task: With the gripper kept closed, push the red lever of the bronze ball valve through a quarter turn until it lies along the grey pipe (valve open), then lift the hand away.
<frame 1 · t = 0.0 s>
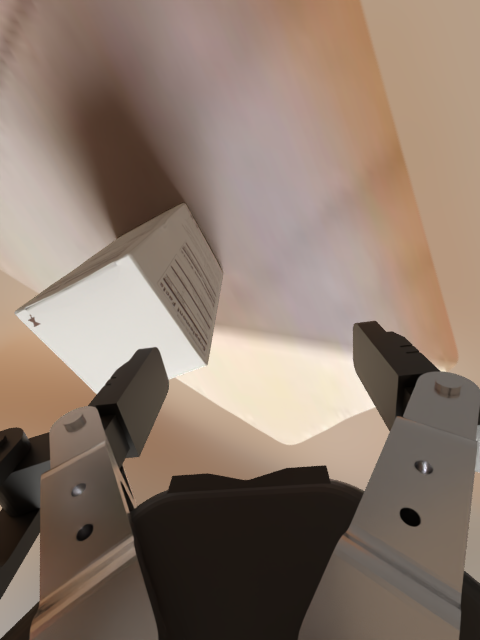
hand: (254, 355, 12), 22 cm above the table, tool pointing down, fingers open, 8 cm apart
supplement box: (172, 256, 33), on the table
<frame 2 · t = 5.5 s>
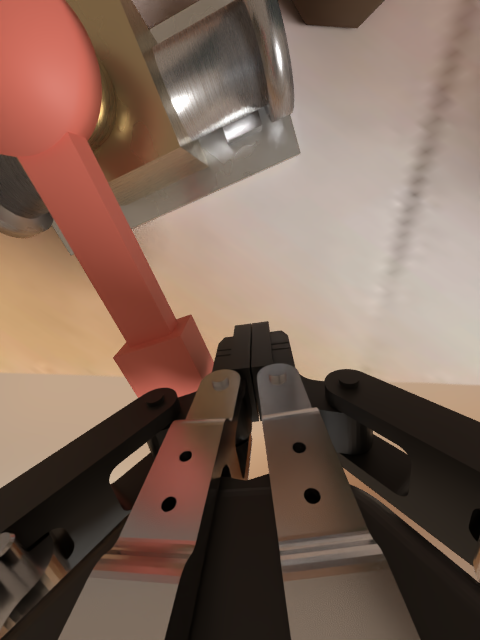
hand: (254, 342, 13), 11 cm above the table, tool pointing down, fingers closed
lever: (106, 247, 10), point 12 cm above the table, hinge at 1.4°, touching gripper
valve: (148, 140, 19), on the table
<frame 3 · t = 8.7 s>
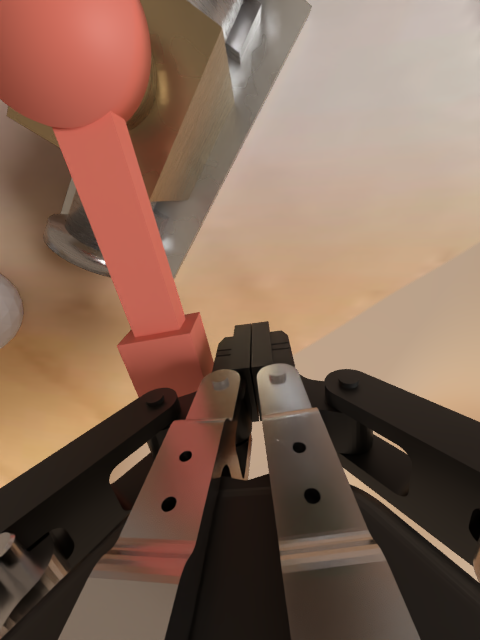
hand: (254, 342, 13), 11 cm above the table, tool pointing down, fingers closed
lever: (128, 233, 10), point 12 cm above the table, hinge at 47.8°, touching gripper
valve: (171, 129, 18), on the table
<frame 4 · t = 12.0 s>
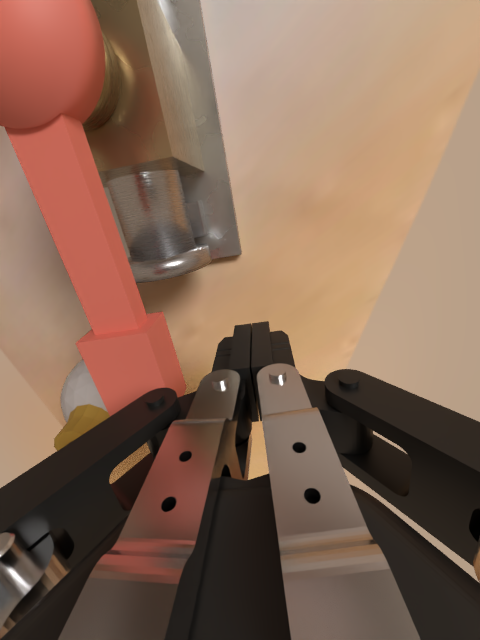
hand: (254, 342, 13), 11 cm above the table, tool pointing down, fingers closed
lever: (86, 232, 10), point 12 cm above the table, hinge at 89.4°
perfume bottle: (131, 378, 27), on the table
valve: (152, 127, 19), on the table
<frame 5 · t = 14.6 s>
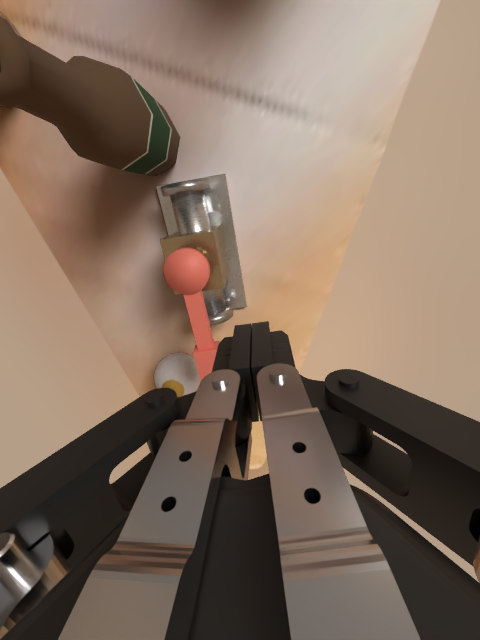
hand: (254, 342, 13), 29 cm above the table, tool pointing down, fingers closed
beer bottle: (151, 142, 35), on the table
lever: (199, 318, 31), point 12 cm above the table, hinge at 89.4°
perfume bottle: (183, 369, 48), on the table
valve: (205, 250, 40), on the table
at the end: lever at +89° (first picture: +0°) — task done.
